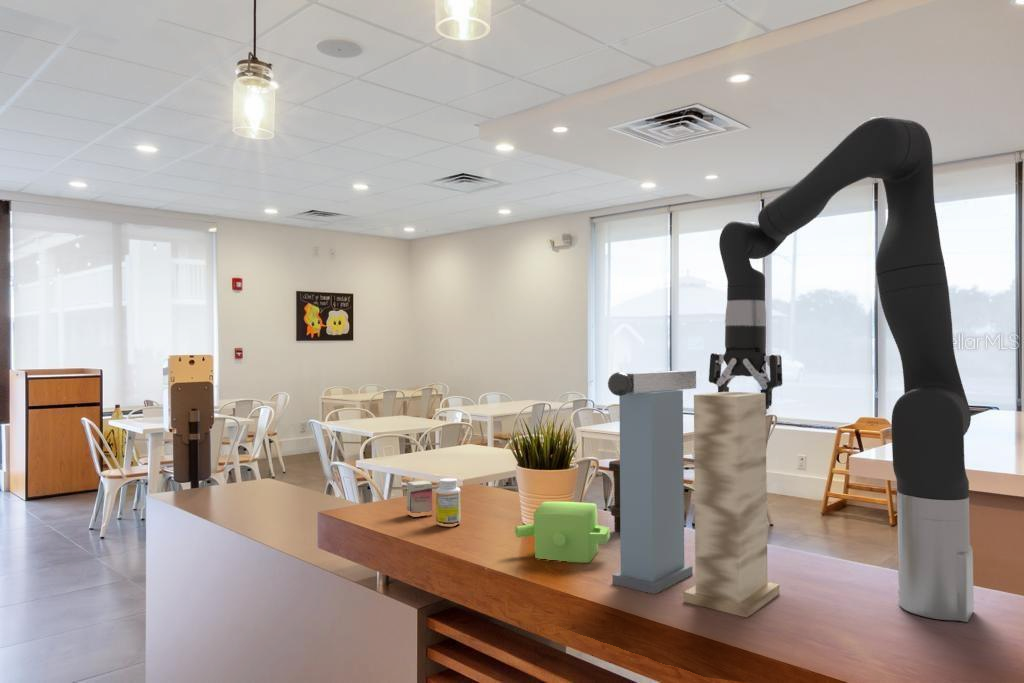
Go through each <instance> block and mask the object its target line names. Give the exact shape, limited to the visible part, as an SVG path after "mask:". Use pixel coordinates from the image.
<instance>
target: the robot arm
mask: <svg viewBox="0 0 1024 683" xmlns="http://www.w3.org/2000/svg"><path fill="white" fill-rule="evenodd" d="M933 163H934V162H933V148H932V142H931V137H930V134H929V133H928V131H927V129H926V127H924V126H923V125H922V124H921V123H919V122H917V121H914V120H911V119H904V118H897V117H891V116H876V117H871V118H868V119H867V120H865V121H862V123H860V124H859V125H857V127H855V128H854V129H853V130H852V131H851V132H850V133H849V134H847V136H846V137H844V139H842V141H840V142H839V143H838V145H836V147H835V148H834V149H832V151H830V153H828V154H827V155H826V156H824V158H823V159H822V160H821V161H820V162H819V163H818V164H817V165H815V167H814V168H813V169H812V170H810V172H808V173H807V174H806V175H804V177H803V178H801V180H799V181H798V182H797V183H795V184H793V186H791V187H790V188H788V189H787V190H785V191H784V192H782V193H781V194H780V195H779V196H777V197H775V198H774V199H772V200H771V201H770V202H768V203H767V204H766V205H764V207H763V208H761V210H760V211H759V213H758V216H757V222H752V221H745V220H743V221H742V220H732V221H730V222H728V223H727V224H726V225H724V227H723V229H722V230H721V233H720V236H719V242H718V245H719V252H720V256H721V260H722V265H723V269H724V272H725V276H726V280H727V286H726V291H727V292H726V293H727V294H726V296H727V299H726V307H725V317H724V318H725V320H724V325H725V327H724V328H725V330H724V331H725V332H724V347H725V352H724V354H721V353H719V352H714V353H712V352H711V354H710V357H709V368H708V369H709V372H708V382H709V383H710V384H714V385H715V386H717V392H730V387H729V384H730V383H731V381H732V380H733V379H734V378H735V377H736V376H737V377H753V379H754V380H755V381H756V382H757V383H758V384H759V386H760V387H761V388H760V393H765V396H766V410H769V409H770V407H771V406H772V404H773V389H775V388H777V387H781V386H782V385H783V368H782V367H783V364H782V363H783V362H782V356H781V355H780V354H771V355H766V350H765V349H766V344H767V342H766V340H767V339H766V338H767V336H766V335H767V334H766V333H767V329H766V328H767V310H766V308H767V307H766V277H765V275H764V273H763V272H761V271H759V270H757V269H755V268H753V267H752V263H751V260H760V259H763V258H765V257H768V256H769V255H771V254H772V253H773V252H775V251H776V250H777V249H778V247H779V246H781V244H783V242H784V241H785V240H786V238H787V237H788V236H791V235H792V234H793V233H794V232H796V231H798V230H800V229H801V228H803V227H805V226H806V225H807V224H809V223H810V222H812V221H813V220H814V219H816V218H817V217H818V216H819V215H820V214H821V213H822V211H824V209H825V208H826V206H827V204H828V202H830V200H831V199H832V198H833V197H834V196H835V195H836V194H837V193H839V192H840V191H841V190H843V189H845V188H846V187H848V186H850V185H852V184H855V183H856V182H859V181H861V180H864V179H866V178H871V179H879V180H880V179H881V180H882V182H883V186H884V191H885V198H886V205H887V221H886V224H885V225H886V226H885V229H884V232H883V235H882V238H881V241H880V244H879V247H878V250H877V254H876V261H875V272H876V273H875V274H876V279H877V287H878V293H879V300H880V304H881V308H882V311H883V315H884V317H885V320H886V323H887V325H888V327H889V331H890V333H891V335H892V337H893V340H894V342H895V345H896V347H897V350H898V352H899V355H900V361H901V367H902V375H903V376H902V377H903V388H904V389H903V394H902V395H901V396H900V397H898V399H897V400H896V402H895V404H894V406H893V409H892V412H891V413H892V414H891V424H890V425H891V426H890V427H891V448H892V449H891V450H892V467H893V472H894V473H893V474H894V476H895V479H896V490H897V491H896V492H897V493H896V494H897V495H896V496H897V498H896V499H897V500H896V502H897V504H896V505H897V569H898V570H897V572H898V573H897V575H898V577H897V578H898V579H897V580H898V588H897V589H898V590H897V593H898V605H899V606H900V608H902V609H903V610H905V611H906V612H909V613H912V614H915V615H918V616H920V617H921V616H922V617H925V618H930V619H935V620H944V621H960V622H965V623H968V622H969V620H970V618H971V616H972V615H973V612H974V611H975V610H974V609H975V608H974V604H975V603H974V601H975V600H974V556H973V555H974V554H973V552H974V551H973V546H971V544H970V543H971V540H970V538H971V537H970V536H971V535H970V534H971V533H970V485H969V484H970V482H969V478H968V476H967V472H966V465H965V463H966V462H965V435H966V433H968V430H969V429H970V426H971V420H972V415H971V414H972V413H971V408H970V405H969V402H968V399H967V396H966V393H965V392H966V391H965V388H964V386H963V383H962V382H963V381H962V379H961V378H962V377H961V376H960V371H959V368H958V364H957V359H956V355H955V354H956V353H955V349H954V333H953V320H952V309H951V300H950V291H949V290H950V289H949V284H948V278H947V277H948V276H947V270H946V266H945V260H944V254H943V250H942V245H941V237H940V229H939V224H938V216H937V211H936V210H937V209H936V205H935V204H936V203H935V202H936V201H935V190H934V164H933ZM724 362H725V364H726V367H725V369H723V371H722V365H723V364H724ZM766 363H767V366H768V367H769V375H768V373H767V371H766V370H765V369H764V365H765V364H766Z"/></svg>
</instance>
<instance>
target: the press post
mask: <svg viewBox="0 0 1024 683" xmlns="http://www.w3.org/2000/svg"><path fill="white" fill-rule="evenodd" d="M618 398H619V400H618V401H619V407H618V408H619V460H620V532H619V533H620V534H619V535H620V570H619V571H618V572H615V573H613V574H612V580H611V581H612V583H614V584H613V585H616V584H618V585H617V586H620V585H622V586H621V587H624V586H625V587H624V588H628V587H629V588H628V589H632V588H633V589H632V590H635V589H637V590H636V591H639V590H641V592H643V591H644V593H647V592H648V594H651V593H652V595H657V594H658V593H661V592H663V591H664V590H666V589H667V588H669V587H671V586H674V585H675V584H678V583H680V582H681V581H683V580H685V579H687V578H690V577H691V576H693V565H689V564H686V563H685V497H684V496H685V492H684V491H685V490H684V488H685V482H684V480H685V478H684V475H685V474H684V473H685V472H684V468H685V467H684V466H685V465H684V389H683V390H671V391H660V392H649V393H638V394H626V395H623V396H618Z"/></svg>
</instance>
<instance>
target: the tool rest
mask: <svg viewBox="0 0 1024 683" xmlns="http://www.w3.org/2000/svg"><path fill="white" fill-rule="evenodd" d="M766 411H767V409H766V396H765V393H761V392H740V391H739V392H738V391H737V392H736V391H729V392H718V391H717V392H711V393H709V392H708V393H700V394H699V393H698V394H694V395H693V442H694V444H693V445H694V446H693V447H694V449H693V450H694V452H693V454H694V455H693V457H694V464H693V465H694V466H693V467H694V468H693V471H694V531H695V532H694V544H695V545H694V549H695V550H694V551H695V552H694V554H695V555H694V557H695V558H694V559H695V561H694V563H695V566H694V567H695V568H694V569H695V573H694V574H695V577H694V579H695V585H693V586H692V587H690V588H688V589H686V590H685V591H684V592H683V602H684V603H688V604H691V605H696V606H700V607H704V608H707V609H711V610H715V611H720V612H723V613H728V614H731V615H735V616H739V617H743V618H748V617H750V616H752V615H753V614H754V613H756V612H757V611H758V610H760V608H762V607H764V606H765V605H766V604H768V603H769V602H771V601H772V600H774V599H775V598H776V597H777V596H779V595H780V584H779V583H774V582H770V581H768V580H769V579H768V573H769V572H768V510H767V509H768V506H767V505H768V502H767V501H768V500H767V499H768V498H767V494H768V492H767V491H768V490H767V489H768V488H767V486H768V485H767V415H766V414H767V412H766Z"/></svg>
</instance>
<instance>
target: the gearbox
mask: <svg viewBox="0 0 1024 683" xmlns="http://www.w3.org/2000/svg"><path fill="white" fill-rule="evenodd" d="M514 533H515V537H516V538H518V539H519V538H525V537H532V536H533V537H534V557H535V558H541V559H552V560H559V561H558V562H561V561H567V563H581V564H583V563H587V564H588V563H589V564H590V562H591V561H592V560H593V559H594V557H595V556H596V554H597V552H598V551H599V544H600V545H602V544H604V545H606V544H607V543H608V540H610V537H611V536H610V533H611V531H610V527H609V526H607V527H606V526H603V525H599V524H598V507H597V503H593V502H592V503H591V502H580V501H579V502H577V501H543V502H542V503H540V505H539V506H538V507H537V508H536V509H535V511H534V512H533V523H529V524H524V525H523V524H522V525H518V526H515V528H514Z"/></svg>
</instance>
